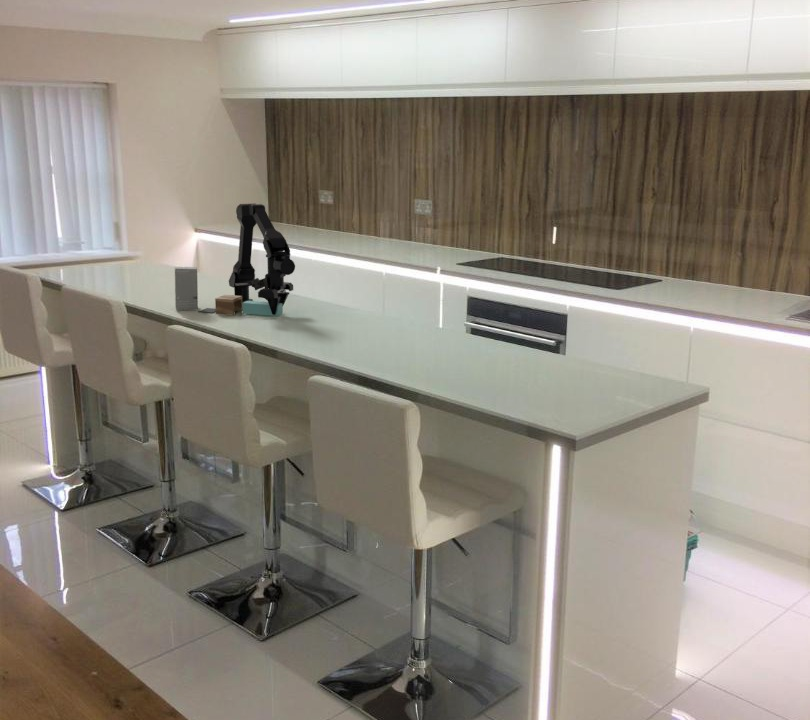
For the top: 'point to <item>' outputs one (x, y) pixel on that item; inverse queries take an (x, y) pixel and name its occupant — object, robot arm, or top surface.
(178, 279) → the skincare box
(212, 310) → the mat
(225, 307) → the tunnel
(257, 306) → the bar
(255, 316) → the pad
